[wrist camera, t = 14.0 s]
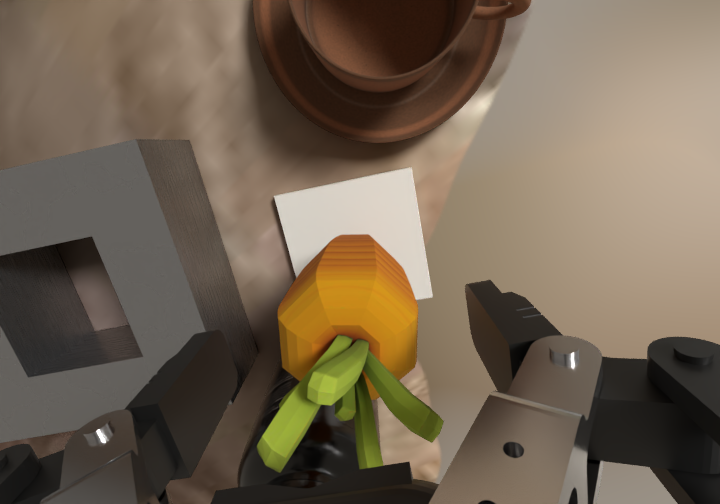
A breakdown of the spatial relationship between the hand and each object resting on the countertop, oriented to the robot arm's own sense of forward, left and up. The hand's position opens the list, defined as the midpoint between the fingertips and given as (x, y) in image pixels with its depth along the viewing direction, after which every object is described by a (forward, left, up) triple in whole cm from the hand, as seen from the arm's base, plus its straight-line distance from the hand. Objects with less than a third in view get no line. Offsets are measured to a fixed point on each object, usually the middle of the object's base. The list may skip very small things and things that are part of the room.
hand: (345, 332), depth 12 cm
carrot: (0, 0, -11) cm, 11 cm away
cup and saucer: (-11, +4, -11) cm, 16 cm away
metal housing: (-1, -15, -11) cm, 19 cm away
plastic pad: (0, 0, -11) cm, 11 cm away
